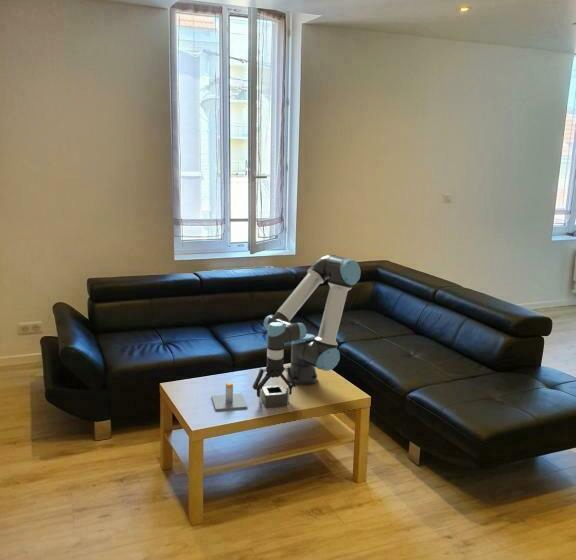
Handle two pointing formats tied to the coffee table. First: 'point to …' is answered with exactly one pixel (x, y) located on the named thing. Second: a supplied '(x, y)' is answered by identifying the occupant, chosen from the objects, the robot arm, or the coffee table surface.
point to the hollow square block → (274, 396)
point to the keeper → (229, 400)
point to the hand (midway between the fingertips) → (273, 402)
